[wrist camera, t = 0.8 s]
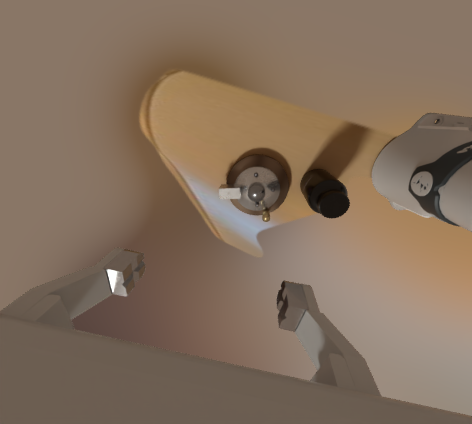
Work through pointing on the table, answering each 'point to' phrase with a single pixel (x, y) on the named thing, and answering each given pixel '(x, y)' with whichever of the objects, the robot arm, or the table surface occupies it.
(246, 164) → the walnut base
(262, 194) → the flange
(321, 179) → the supplement bottle
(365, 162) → the table surface
